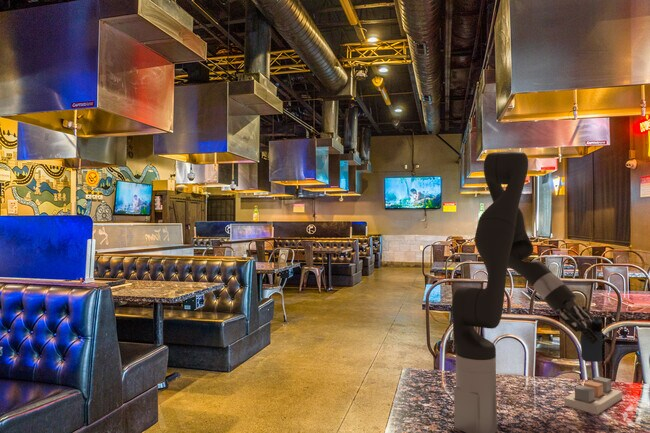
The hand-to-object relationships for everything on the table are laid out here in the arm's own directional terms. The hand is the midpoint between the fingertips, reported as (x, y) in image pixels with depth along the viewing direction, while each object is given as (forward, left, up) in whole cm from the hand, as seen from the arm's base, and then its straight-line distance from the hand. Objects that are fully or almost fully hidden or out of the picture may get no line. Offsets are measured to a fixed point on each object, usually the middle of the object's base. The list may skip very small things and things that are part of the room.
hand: (599, 340), depth 121 cm
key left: (-6, +2, -15) cm, 16 cm away
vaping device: (0, +2, -6) cm, 6 cm away
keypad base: (0, +2, -17) cm, 17 cm away
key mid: (0, +2, -15) cm, 15 cm away
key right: (+6, +2, -15) cm, 16 cm away
